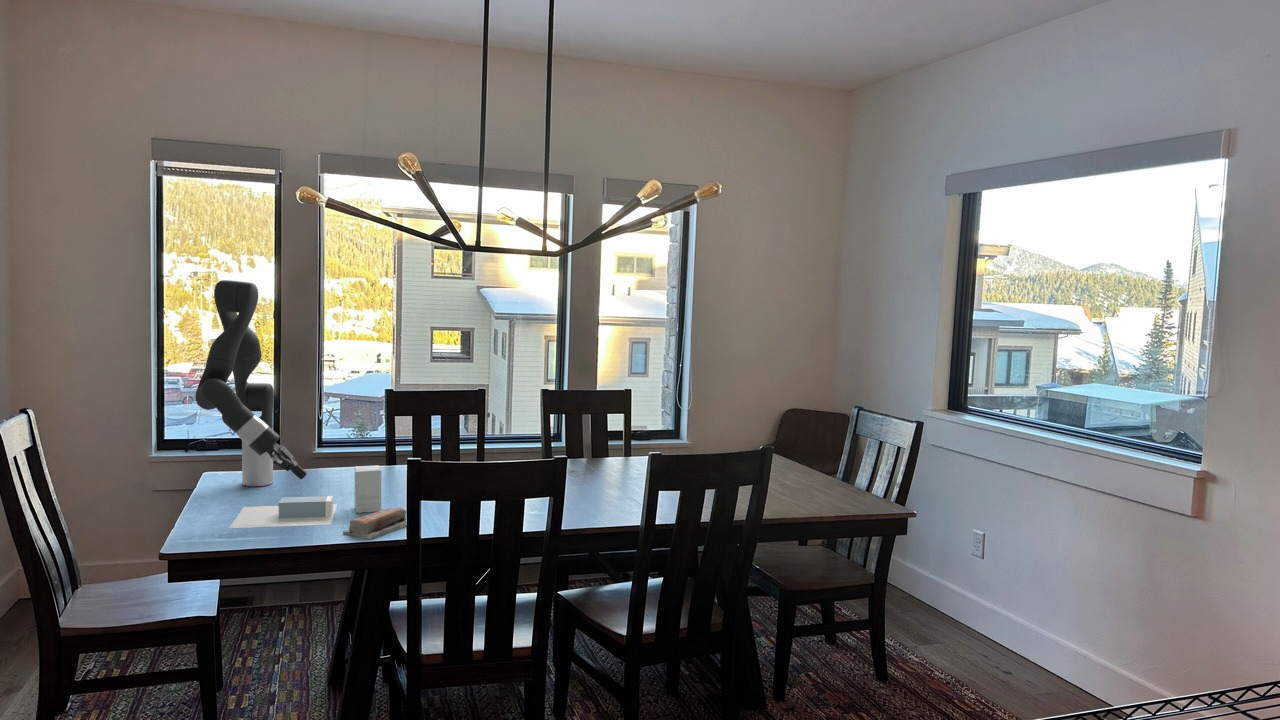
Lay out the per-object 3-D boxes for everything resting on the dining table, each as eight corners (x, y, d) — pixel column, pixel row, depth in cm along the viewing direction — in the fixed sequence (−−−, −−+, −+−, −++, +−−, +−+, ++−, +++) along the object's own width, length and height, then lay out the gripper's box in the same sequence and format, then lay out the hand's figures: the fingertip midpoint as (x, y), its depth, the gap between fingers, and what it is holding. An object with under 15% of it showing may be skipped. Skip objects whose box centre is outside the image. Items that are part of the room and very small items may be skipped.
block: (281, 497, 243) (333, 496, 247) (281, 512, 244) (332, 511, 248) (278, 502, 238) (331, 501, 241) (278, 518, 238) (331, 516, 242)
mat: (243, 508, 248) (243, 507, 248) (337, 505, 256) (337, 503, 255) (228, 529, 227) (228, 528, 227) (331, 525, 234) (331, 524, 234)
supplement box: (379, 505, 257) (379, 464, 256) (381, 511, 250) (381, 470, 249) (354, 507, 254) (354, 465, 253) (355, 513, 247) (355, 471, 246)
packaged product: (371, 523, 223) (342, 518, 227) (371, 541, 224) (342, 535, 227) (415, 507, 240) (387, 503, 244) (415, 524, 240) (387, 519, 244)
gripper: (264, 429, 231) (311, 472, 236) (271, 421, 244) (316, 462, 249) (243, 449, 231) (291, 491, 235) (251, 440, 243) (297, 480, 248)
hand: (304, 476), depth 242 cm, fingers closed
